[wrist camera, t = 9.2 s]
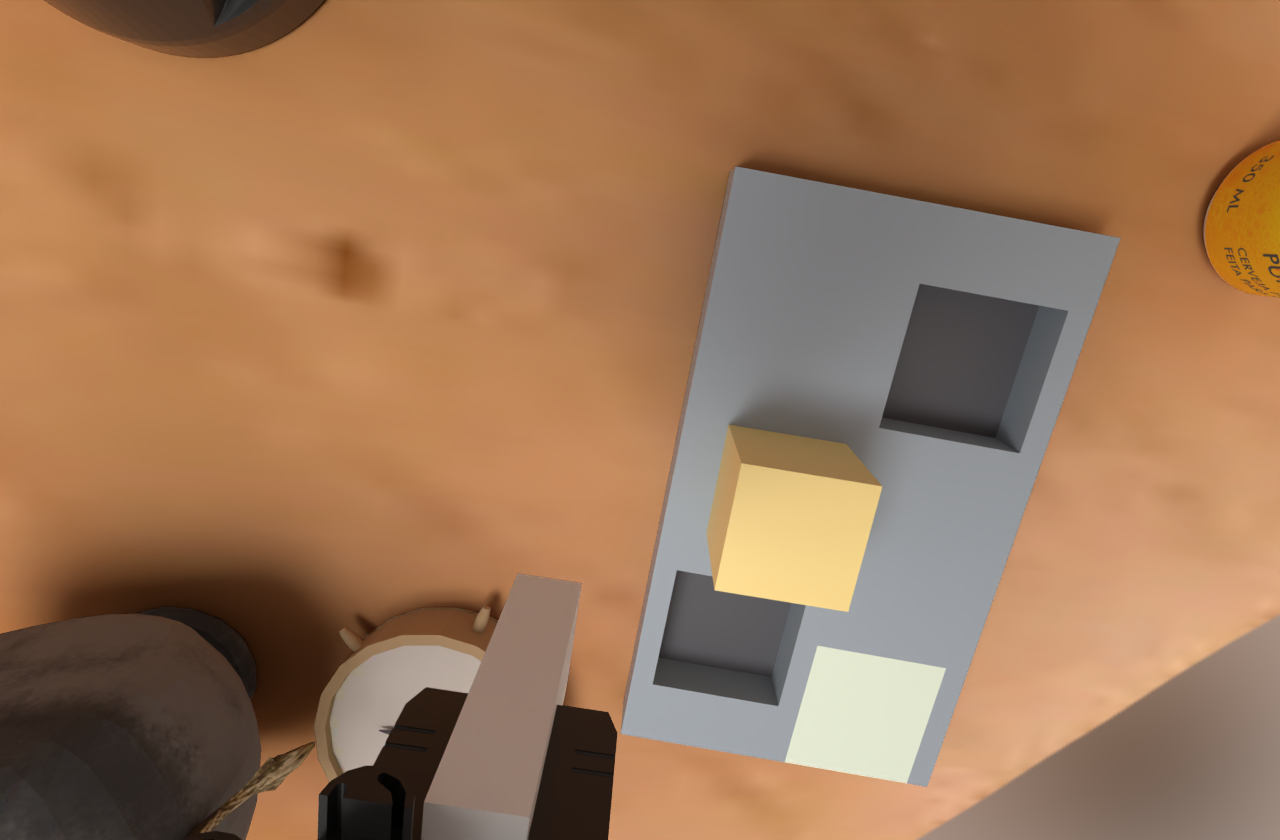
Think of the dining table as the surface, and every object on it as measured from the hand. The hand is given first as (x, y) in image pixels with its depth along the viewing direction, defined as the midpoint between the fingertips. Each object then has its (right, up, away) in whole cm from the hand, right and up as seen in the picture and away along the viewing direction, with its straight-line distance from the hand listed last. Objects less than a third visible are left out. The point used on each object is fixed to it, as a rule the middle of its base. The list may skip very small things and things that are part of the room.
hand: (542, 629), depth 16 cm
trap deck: (+11, +2, +16) cm, 19 cm away
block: (+8, +2, +13) cm, 16 cm away
